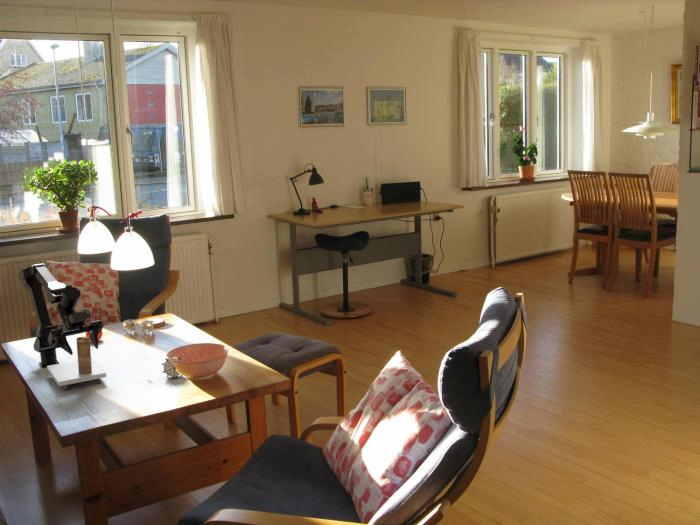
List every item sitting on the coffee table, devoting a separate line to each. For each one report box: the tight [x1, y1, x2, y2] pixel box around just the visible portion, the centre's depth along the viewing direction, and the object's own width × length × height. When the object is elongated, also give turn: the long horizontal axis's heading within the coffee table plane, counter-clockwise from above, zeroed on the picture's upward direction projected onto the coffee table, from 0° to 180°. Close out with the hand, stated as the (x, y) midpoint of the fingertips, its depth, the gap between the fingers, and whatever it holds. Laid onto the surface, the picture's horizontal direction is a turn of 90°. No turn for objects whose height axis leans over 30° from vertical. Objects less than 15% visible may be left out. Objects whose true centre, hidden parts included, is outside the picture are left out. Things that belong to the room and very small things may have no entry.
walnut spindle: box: [75, 336, 92, 374], centre depth 253 cm, size 4×4×12 cm
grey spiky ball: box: [161, 354, 182, 380], centre depth 257 cm, size 9×8×10 cm
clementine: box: [85, 330, 103, 342], centre depth 308 cm, size 8×7×7 cm
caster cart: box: [46, 357, 107, 391], centre depth 258 cm, size 22×16×4 cm
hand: (84, 351), depth 251 cm, fingers open, 9 cm apart
